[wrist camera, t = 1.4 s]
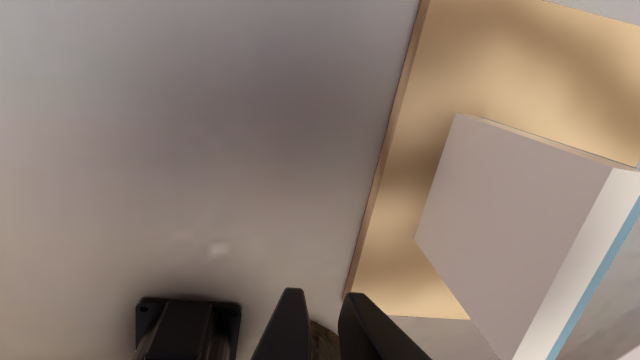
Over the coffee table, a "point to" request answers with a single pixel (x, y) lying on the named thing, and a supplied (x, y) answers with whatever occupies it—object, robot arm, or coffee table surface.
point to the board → (492, 103)
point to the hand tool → (324, 343)
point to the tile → (524, 231)
